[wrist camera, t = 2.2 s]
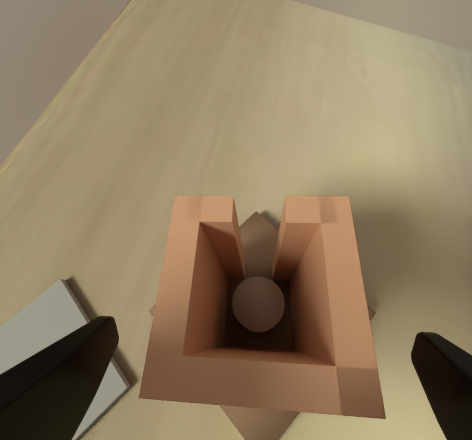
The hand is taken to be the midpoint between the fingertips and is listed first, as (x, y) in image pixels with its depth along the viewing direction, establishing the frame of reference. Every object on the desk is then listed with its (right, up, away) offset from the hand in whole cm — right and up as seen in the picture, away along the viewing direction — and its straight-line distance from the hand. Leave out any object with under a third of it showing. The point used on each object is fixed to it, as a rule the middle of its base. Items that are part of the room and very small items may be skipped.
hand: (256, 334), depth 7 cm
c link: (+1, -2, +8) cm, 8 cm away
